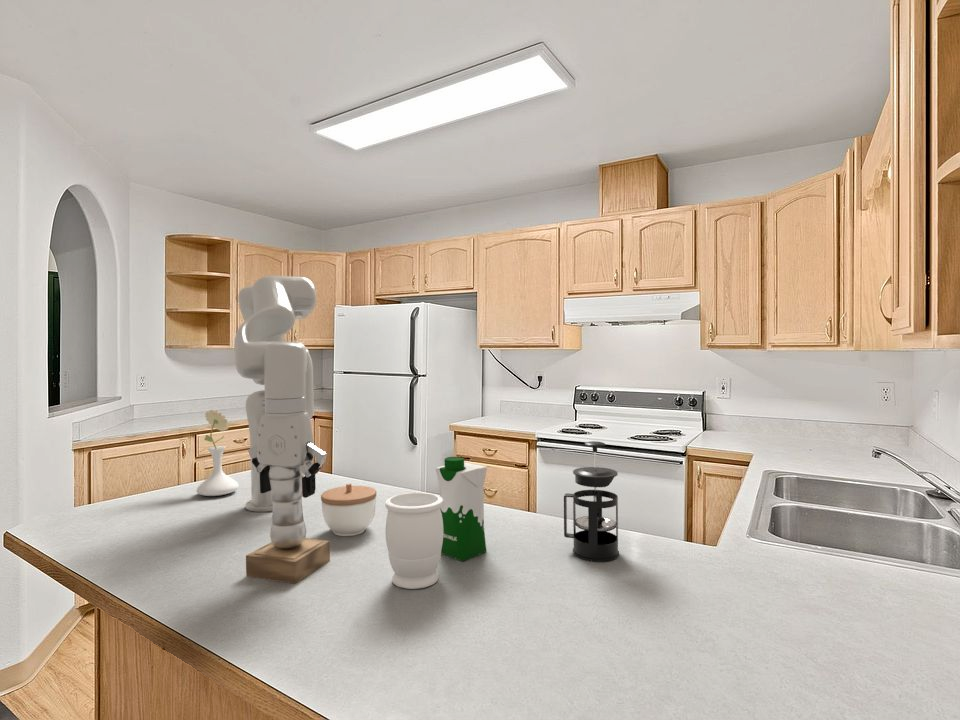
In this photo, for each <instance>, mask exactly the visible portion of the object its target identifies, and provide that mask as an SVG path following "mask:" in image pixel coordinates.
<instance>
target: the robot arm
mask: <svg viewBox="0 0 960 720" xmlns="http://www.w3.org/2000/svg"><path fill="white" fill-rule="evenodd" d="M237 300H238V305H239V310H240V311H239V312H240V314H241V316H242V318H243V321H244V322H243V323H241V324H240V326H239V327H238V329H237V331H236V333H235V337H234V362H235V367H236V371H237V372H238V375H240V376H241V377H242V378H244V379H249V380H252V381H253V382H254V383H255V384H256V385H257V384H258V385H260V386H264V390H263V389H261V390H257V391H253V392H252V393H250V394H249V395H248V396H247V398H246V401H245V412H246V418H247V423H248V431H249V447H250V448H248V450H247V452H248V455H249V457H250V486H251V487H250V488H251V490H250V492H251V499H250V500H248V501H247V502H246V503H245V509H246V510H248V511H251V512H256V513H257V512H258V513H261V512H263V513H264V512H273V500H272V491H271V486H270V480H269V470H270V468H271V466H278V467H290V468H295V467H299V468H300V469H301V471H302V472H303V474H304V477H302V498H305V499H306V498H308V497H311V496H313V495H314V494H315V493H316V488H317V487H316V474H317V475H318V473H319V471H320V470H321V469H322V468H323V466H324V463H325V462H326V459H327V455H328V454H327V453H326V451H323V450H322V449H321V448H319V447H318V446H316V445H314V436H313V435H314V434H313V428H312V422H311V420H312V418H313V417H314V416H313V415H314V409H315V402H314V401H315V399H314V395H315V394H314V366H313V365H314V364H313V359H312V357H311V354H310V351H309V349H307V347H306V345H304V344H303V343H302V342H300V341H284V340H285V339H284V337H285V335H286V334H287V333H289V332H290V331H291V330H292V329H293V328H294V325H295V323H296V320H300V319H301V320H303V319H307V318H308V316H310V314H311V313H312V312H313V311H314V310H315V307H316V304H317V292H316V288H315V285H314V283H313V282H312V281H311V280H310V279H309V278H307V277H305V276H284V275H266V276H265V275H264V276H262V277H259V278H258V279H257V280H255V282H254V283H253V285H248V286H245V287H243V288H241V289H240V290H239V292H238V299H237ZM314 457H315V462H314Z"/></svg>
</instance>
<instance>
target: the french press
mask: <svg viewBox="0 0 960 720" xmlns="http://www.w3.org/2000/svg"><path fill="white" fill-rule="evenodd" d="M584 445H585V446H587V447H592V452H593V465H594V466H588V467H587V466H586V467H579V468H575V469H574V470H572V473H573V475H574V477H575V478H574V479H575V480H574V482H575V484H577V485H579V486H583V487H587V488H588V487H589V488H594V489H584V490H581V489H580V490H578V491H575V492H573V493H569V492H568V493H565V494H564V495H563V536H564V538H567V539H570V538H571V539H573V548H572V554H573V555H574V556H575V557H576V558H578V559H579V560H583V561H587V562H592V563H593V562H594V563H607V562H611V561H615V560H616V559H618V558H619V556H620V551H619V514H618V513H619V510H618V509H619V502H618V501H619V497H618V495H617V494H616V493H614V492H611V491H608V490H604V489H603V490H601V489H597V488H606V487H608V486H610V484H611V483H612V482H613V480H614V479H615V477H617V476H618V471H616V470H615V469H611V468H607V467H599V466H598V467H597V452H598V447H604V446H606V443H604V442H601V441H595V440H594V441H593V440H591V441H586V442H585V443H584ZM583 497H593V500H592V501H591V500H585V499H581V498H583ZM603 497H604V498H606V499H607V498H608V499H611V500H606V501H605V500H604V501H603ZM568 498H572V499H573V500H572V503H573V505H572V506H573V509H572V510H573V512H572V513H573V514H572V515H573V519H572V520H573V521H572V524H573V525H572V527H573V533H569V532H568V519H567V518H568V513H567V511H568V510H567V509H568V505H567V501H568V500H567V499H568ZM576 506H580V507H583V508H588V515H586V516H579V517H578V518H577V517H576V516H577V514H576ZM613 507H615V520H614V519H612V518H610V517H605V516H603V509H609V508H613ZM577 528H578V529H581V530H579V531H577V532H576V530H577ZM613 530H615V531H616V533H615V534H614V533H612V532H610V531H613Z"/></svg>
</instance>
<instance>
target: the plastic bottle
mask: <svg viewBox="0 0 960 720" xmlns="http://www.w3.org/2000/svg"><path fill="white" fill-rule="evenodd" d="M304 476H305V475H304V474H303V472H302V471H301V469H300V468H299V467H295V468H290V467H278V466H271V468H270V470H269V480H270V486H271V491H272V500H273V511H272V517H271V518H272V519H271V520H272V522H271V526H270V533H269V534H270V535H269V537H270V543H271V542H272V544H273V545H274V546H275V547H276V548H293V547H296V546H299V545H301V544H302V543H303V542H304V540H305V538H306V535H307V527H306V526H307V525H306V521H305V518H304V510H303V499H302V498H303V496H302V477H304Z"/></svg>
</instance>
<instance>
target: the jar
mask: <svg viewBox="0 0 960 720" xmlns="http://www.w3.org/2000/svg"><path fill="white" fill-rule="evenodd" d="M442 504H443V498H442V497H441V496H440V494H435V493H429V492H408V493H406V492H405V493H400V494H395V495H393V496H390V497H389V498H387V499H386V500H385V508H386V509H387V510H388V512H387V516H386V520H385V542H386V548H387V551H388V559H389V560H388V561H389V563H390V566H391V568H392V571H393V572H394V574H393V576H392V579H391V581H392V583H393V584H394V585H395V586H397V587H398V588H401V589H405V590H406V589H407V590H417V589H419V590H420V589H424V588H429V587H430V586H432V585H434V584H436V583H437V582H438V580H439V578H440V577H439V573H438V571H437V568H438V566H439V565H440V562H441V558H442V557H441V556H442V554H441V549H442V544H443V519H442V514H441V510H440V507H441V506H442Z"/></svg>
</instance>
